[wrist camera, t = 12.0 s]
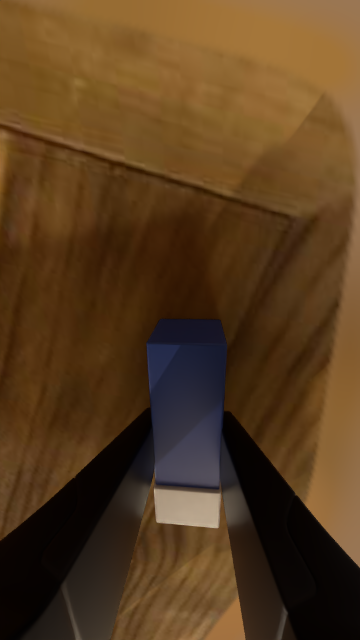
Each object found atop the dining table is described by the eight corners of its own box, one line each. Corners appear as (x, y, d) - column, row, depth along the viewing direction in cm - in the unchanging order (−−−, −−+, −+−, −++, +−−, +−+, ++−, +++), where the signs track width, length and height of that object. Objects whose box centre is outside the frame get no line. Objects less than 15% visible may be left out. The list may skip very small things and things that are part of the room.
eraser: (158, 318, 8) (142, 343, 6) (222, 319, 8) (229, 345, 6) (164, 465, 10) (155, 523, 8) (215, 469, 10) (219, 529, 8)
